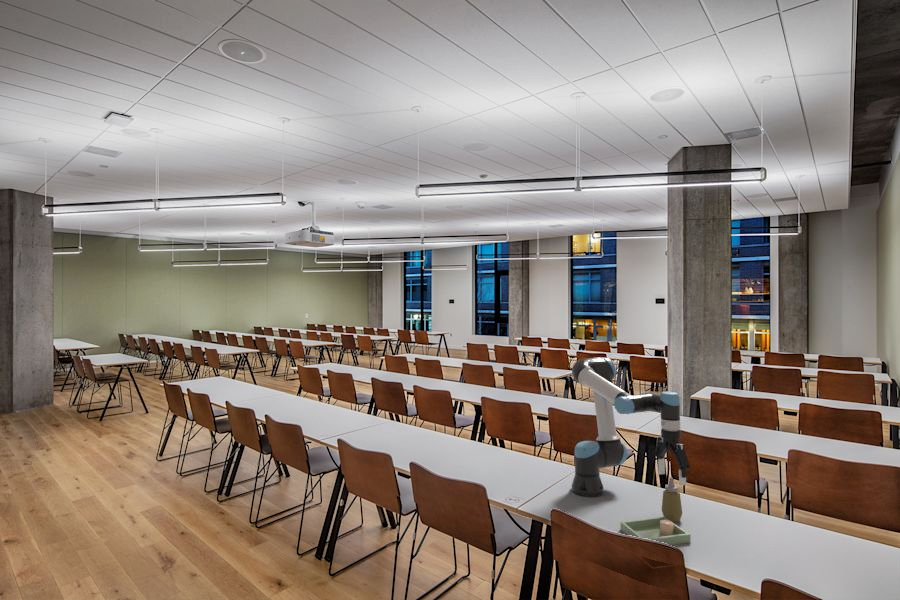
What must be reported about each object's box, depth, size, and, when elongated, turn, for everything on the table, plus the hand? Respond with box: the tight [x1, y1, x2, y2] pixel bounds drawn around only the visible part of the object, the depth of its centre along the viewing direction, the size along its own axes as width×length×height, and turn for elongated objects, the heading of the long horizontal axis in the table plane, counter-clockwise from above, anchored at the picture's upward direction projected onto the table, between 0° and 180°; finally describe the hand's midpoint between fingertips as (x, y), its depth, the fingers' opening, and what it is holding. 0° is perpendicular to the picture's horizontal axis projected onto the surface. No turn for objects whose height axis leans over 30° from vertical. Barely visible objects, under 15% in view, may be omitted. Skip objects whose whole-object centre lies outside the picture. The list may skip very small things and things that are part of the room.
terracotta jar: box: [660, 520, 675, 536], centre depth 196 cm, size 5×5×4 cm
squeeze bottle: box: [661, 477, 683, 523], centre depth 209 cm, size 8×8×18 cm
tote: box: [619, 516, 691, 546], centre depth 195 cm, size 16×20×4 cm
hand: (671, 479), depth 209 cm, fingers open, 13 cm apart
